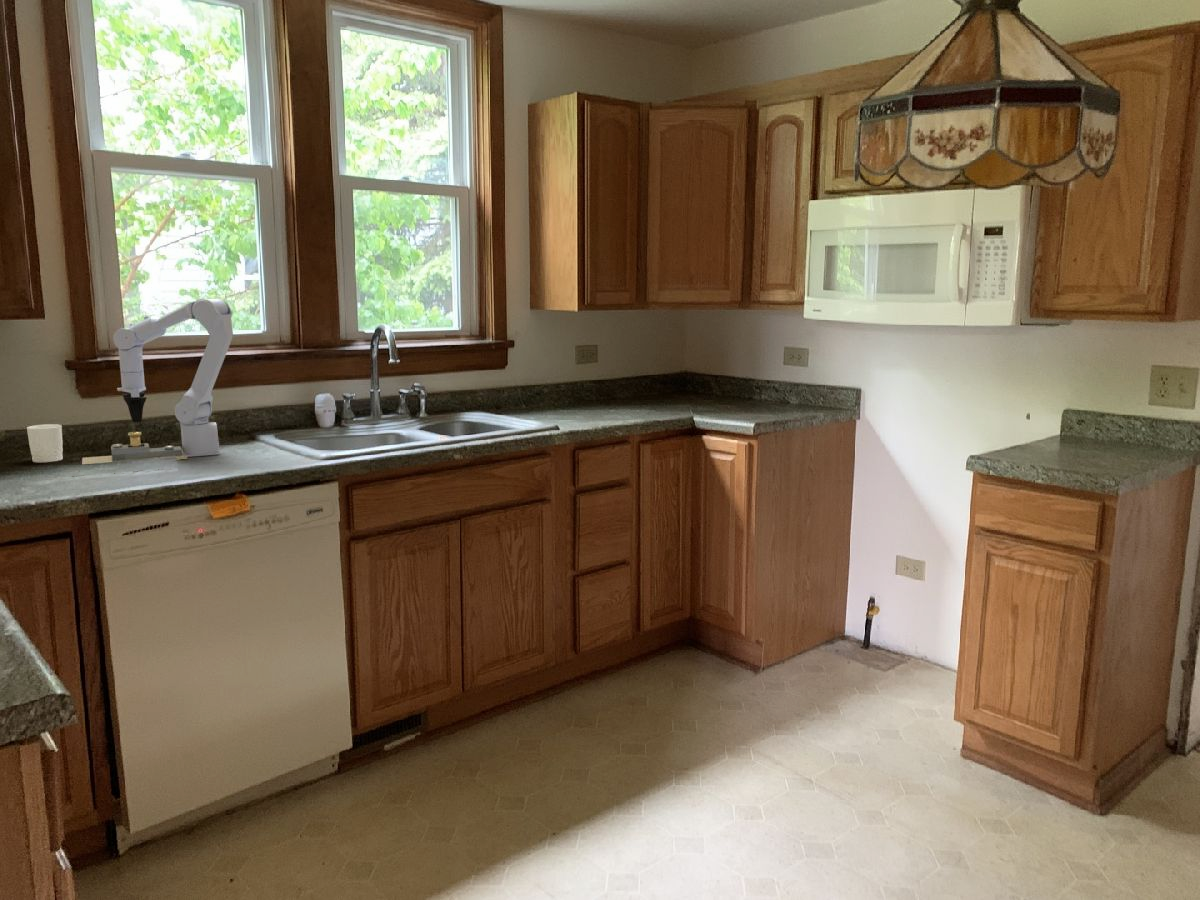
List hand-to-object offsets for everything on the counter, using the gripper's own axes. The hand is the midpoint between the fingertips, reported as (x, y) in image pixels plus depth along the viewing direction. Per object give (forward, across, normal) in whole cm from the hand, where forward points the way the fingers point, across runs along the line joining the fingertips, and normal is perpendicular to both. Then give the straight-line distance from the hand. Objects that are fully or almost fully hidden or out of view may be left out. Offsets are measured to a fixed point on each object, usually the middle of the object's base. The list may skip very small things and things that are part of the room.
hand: (136, 420), depth 253 cm
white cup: (+10, +5, -22) cm, 24 cm away
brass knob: (+8, +11, -1) cm, 14 cm away
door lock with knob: (+9, +11, -1) cm, 14 cm away
